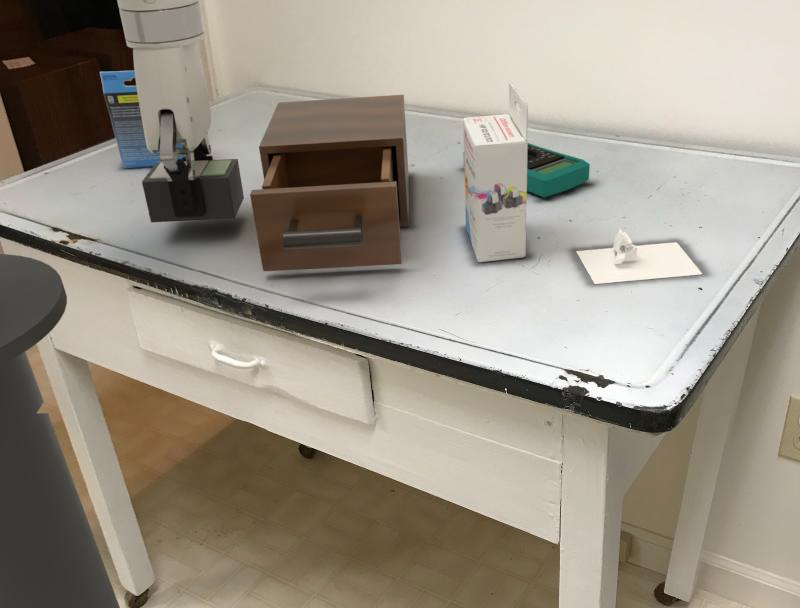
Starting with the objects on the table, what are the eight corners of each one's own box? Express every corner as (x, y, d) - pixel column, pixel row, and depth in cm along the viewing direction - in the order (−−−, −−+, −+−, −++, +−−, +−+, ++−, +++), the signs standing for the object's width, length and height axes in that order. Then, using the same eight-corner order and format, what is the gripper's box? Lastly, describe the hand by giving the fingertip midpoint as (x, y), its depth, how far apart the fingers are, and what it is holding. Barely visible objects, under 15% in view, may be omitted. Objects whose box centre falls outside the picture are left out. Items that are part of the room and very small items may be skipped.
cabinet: (408, 227, 91) (403, 137, 86) (272, 234, 92) (258, 146, 86) (408, 175, 104) (403, 94, 98) (289, 182, 104) (278, 102, 99)
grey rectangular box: (150, 222, 90) (141, 180, 88) (164, 201, 95) (155, 160, 93) (235, 219, 90) (227, 176, 87) (244, 198, 95) (237, 157, 92)
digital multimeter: (504, 154, 108) (504, 131, 106) (591, 184, 98) (593, 158, 96) (459, 169, 104) (458, 145, 103) (545, 201, 94) (546, 176, 93)
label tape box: (194, 155, 115) (175, 60, 108) (187, 166, 112) (167, 68, 105) (130, 159, 116) (107, 64, 109) (122, 169, 112) (97, 72, 105)
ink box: (463, 228, 90) (460, 84, 81) (510, 224, 90) (512, 79, 82) (476, 263, 83) (474, 109, 74) (527, 258, 83) (531, 104, 75)
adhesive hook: (607, 256, 82) (609, 226, 80) (634, 254, 82) (637, 223, 81) (616, 270, 80) (619, 239, 78) (643, 268, 80) (647, 237, 78)
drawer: (401, 287, 78) (395, 206, 73) (255, 295, 78) (241, 215, 74) (402, 205, 94) (398, 135, 89) (281, 212, 94) (270, 142, 90)
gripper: (147, 10, 89) (180, 177, 100) (97, 46, 75) (142, 237, 85) (218, 6, 89) (244, 174, 99) (182, 42, 75) (217, 234, 85)
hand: (197, 202), depth 92 cm, fingers closed on grey rectangular box, 6 cm apart
